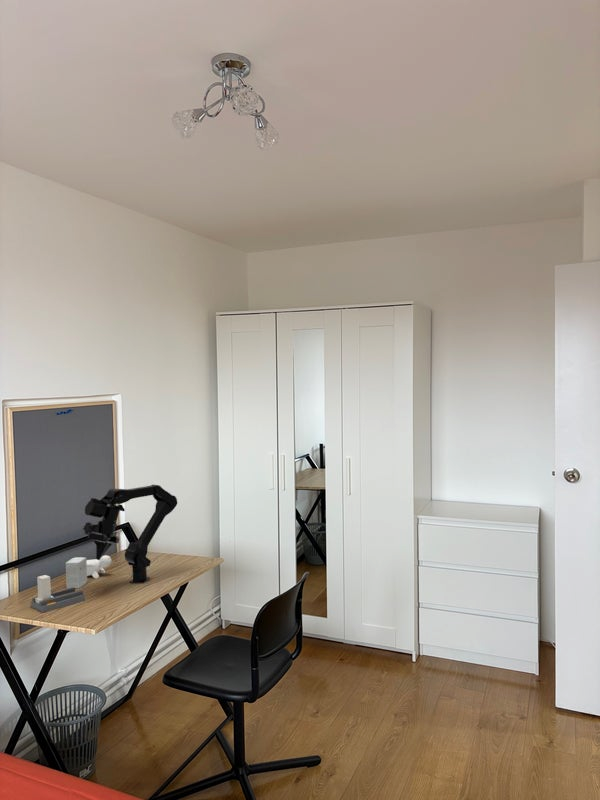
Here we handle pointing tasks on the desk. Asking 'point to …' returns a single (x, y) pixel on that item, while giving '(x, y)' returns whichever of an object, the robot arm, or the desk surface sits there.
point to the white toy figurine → (97, 566)
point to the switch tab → (43, 588)
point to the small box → (76, 572)
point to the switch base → (59, 599)
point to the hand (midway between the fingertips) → (97, 559)
